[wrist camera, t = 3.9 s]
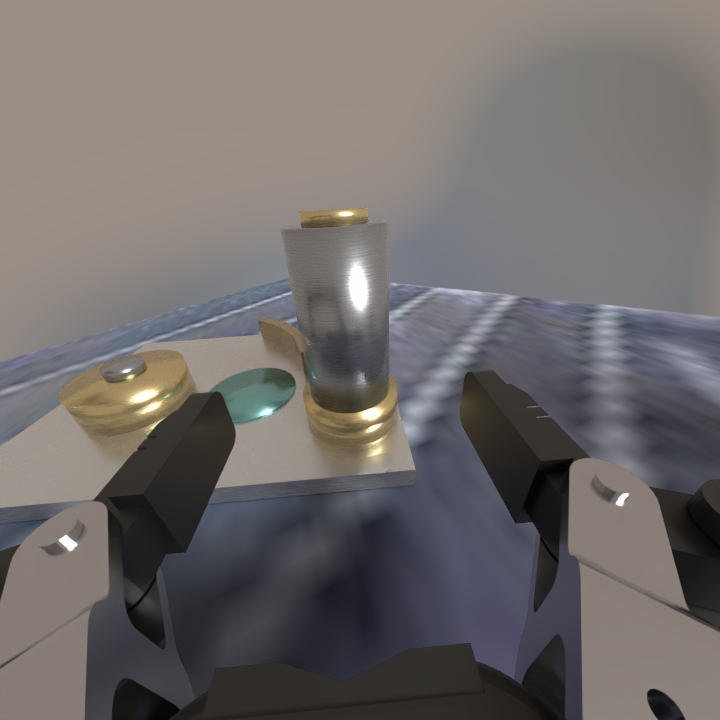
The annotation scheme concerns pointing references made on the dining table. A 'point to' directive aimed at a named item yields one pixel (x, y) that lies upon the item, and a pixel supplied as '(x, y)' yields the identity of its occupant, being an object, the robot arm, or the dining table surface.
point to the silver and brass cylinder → (343, 323)
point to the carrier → (164, 396)
